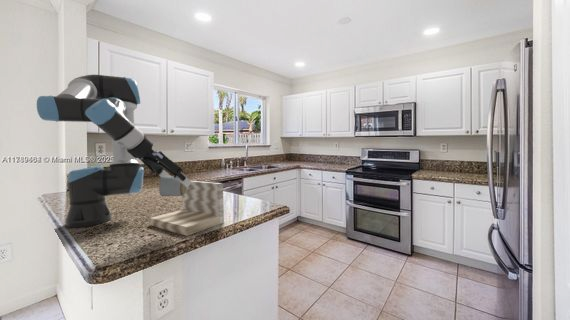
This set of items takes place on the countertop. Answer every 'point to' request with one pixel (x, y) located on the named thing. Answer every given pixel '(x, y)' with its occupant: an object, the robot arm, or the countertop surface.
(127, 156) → the robot arm
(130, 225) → the countertop surface
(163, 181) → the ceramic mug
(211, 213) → the wall shelf
